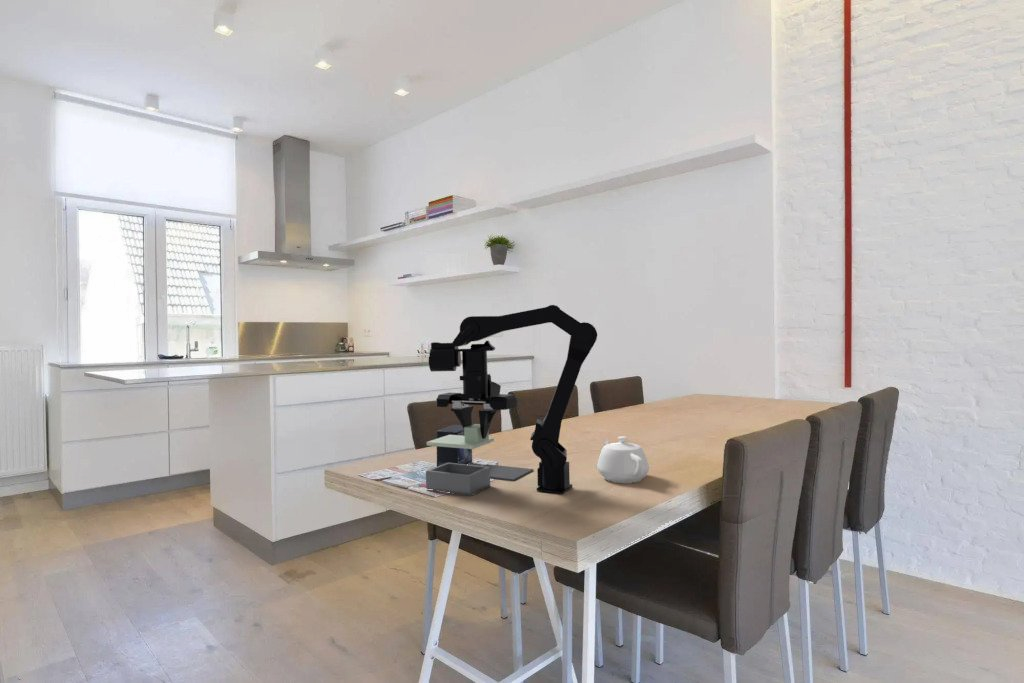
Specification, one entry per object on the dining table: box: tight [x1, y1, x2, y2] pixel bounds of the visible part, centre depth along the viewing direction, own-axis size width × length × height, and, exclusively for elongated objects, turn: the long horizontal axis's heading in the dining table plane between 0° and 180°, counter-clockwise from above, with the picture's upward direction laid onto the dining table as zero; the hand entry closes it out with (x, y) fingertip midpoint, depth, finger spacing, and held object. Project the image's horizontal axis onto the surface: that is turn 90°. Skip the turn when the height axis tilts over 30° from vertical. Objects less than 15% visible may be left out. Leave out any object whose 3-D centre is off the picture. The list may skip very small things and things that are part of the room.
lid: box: [426, 423, 495, 450], centre depth 134 cm, size 13×10×5 cm
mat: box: [483, 463, 534, 482], centre depth 147 cm, size 14×11×1 cm
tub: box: [425, 463, 491, 497], centre depth 133 cm, size 12×9×4 cm
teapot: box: [596, 435, 650, 484], centre depth 139 cm, size 20×12×10 cm, turn 14°
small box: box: [436, 424, 473, 467], centre depth 155 cm, size 11×6×10 cm, turn 161°
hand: (476, 438), depth 132 cm, fingers closed on lid, 3 cm apart
